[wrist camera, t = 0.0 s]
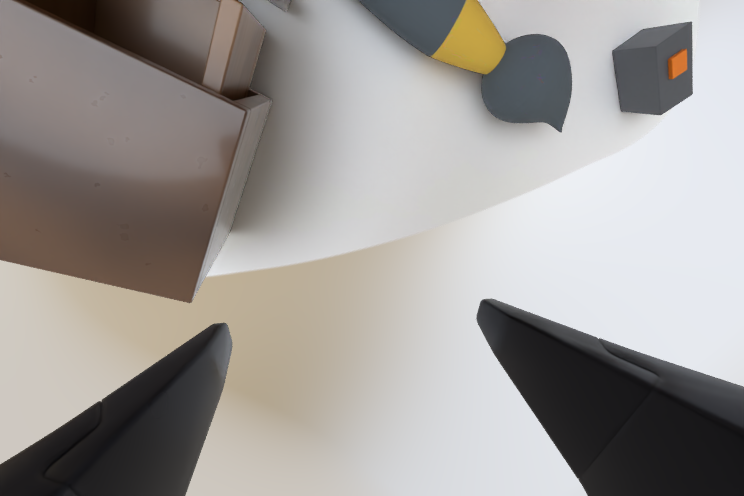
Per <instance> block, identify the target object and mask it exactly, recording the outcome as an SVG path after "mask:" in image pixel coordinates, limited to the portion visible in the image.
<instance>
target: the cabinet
mask: <svg viewBox="0 0 744 496" xmlns="http://www.w3.org/2000/svg"><path fill="white" fill-rule="evenodd" d="M271 104H272V99H270V98H268V97H266V96H264V95H262V94H260V93H258V92H256V91H254V90H252V89H250V88H249V92H248V95H247V98H243V99H239V100H234V101H232V100H230V99H228V98H226V97H224V96H222V95H220V94H218V93H216V92H214V91H212V90H209V89H207V88H205V87H203V86H201V85H199V84H197V83H195V82H193V81H191V80H189V79H187V78H185V77H183V76H180V75H178V74H176V73H174V72H172V71H170V70H168V69H166V68H164V67H162V66H160V65H158V64H156V63H153V62H151V61H149V60H147V59H145V58H143V57H141V56H139V55H137V54H135V53H133V52H131V51H129V50H127V49H124V48H122V47H120V46H118V45H116V44H114V43H112V42H110V41H108V40H106V39H104V38H102V37H100V36H97V35H95V34H93V33H91V32H89V31H87V30H85V29H83V28H81V27H79V26H77V25H75V24H73V23H71V22H68V21H66V20H64V19H62V18H60V17H58V16H56V15H54V14H52V13H50V12H48V11H46V10H44V9H41V8H39V7H37V6H35V5H33V4H31V3H29V2H27V1H25V0H0V260H3V261H7V262H12V263H16V264H20V265H25V266H29V267H33V268H38V269H42V270H47V271H51V272H56V273H60V274H64V275H69V276H74V277H77V278H82V279H86V280H91V281H95V282H99V283H104V284H108V285H113V286H117V287H121V288H126V289H130V290H135V291H139V292H144V293H148V294H153V295H157V296H161V297H165V298H170V299H174V300H179V301H183V302H187V303H191V302H192V300H193V299H194V296H195V295H196V293H197V291H198V290H199V288H200V286H201V284H202V282H203V280H204V279H205V277H206V275H207V273H208V271H209V270H210V268H211V266H212V264H213V262H214V260H215V259H216V257H217V255H218V253H219V251H220V249H221V248H222V246H223V244H224V242H225V240H226V239H227V237H228V235H229V233H230V230H231V227H232V224H233V221H234V218H235V215H236V212H237V209H238V206H239V202H240V199H241V196H242V193H243V190H244V187H245V184H246V181H247V178H248V175H249V172H250V168H251V165H252V162H253V159H254V156H255V153H256V150H257V147H258V144H259V141H260V138H261V135H262V131H263V128H264V125H265V122H266V119H267V116H268V113H269V110H270V107H271Z"/></svg>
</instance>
